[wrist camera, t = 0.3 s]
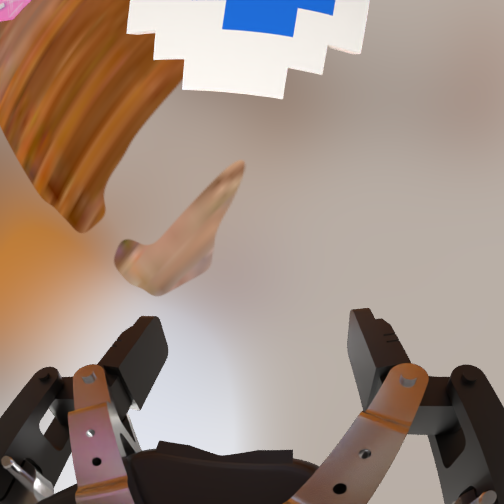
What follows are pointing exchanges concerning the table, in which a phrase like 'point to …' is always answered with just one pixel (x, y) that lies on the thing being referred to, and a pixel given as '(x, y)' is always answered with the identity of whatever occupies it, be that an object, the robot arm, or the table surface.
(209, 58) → the pixel art tile
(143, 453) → the robot arm
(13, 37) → the table surface
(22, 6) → the gum box
